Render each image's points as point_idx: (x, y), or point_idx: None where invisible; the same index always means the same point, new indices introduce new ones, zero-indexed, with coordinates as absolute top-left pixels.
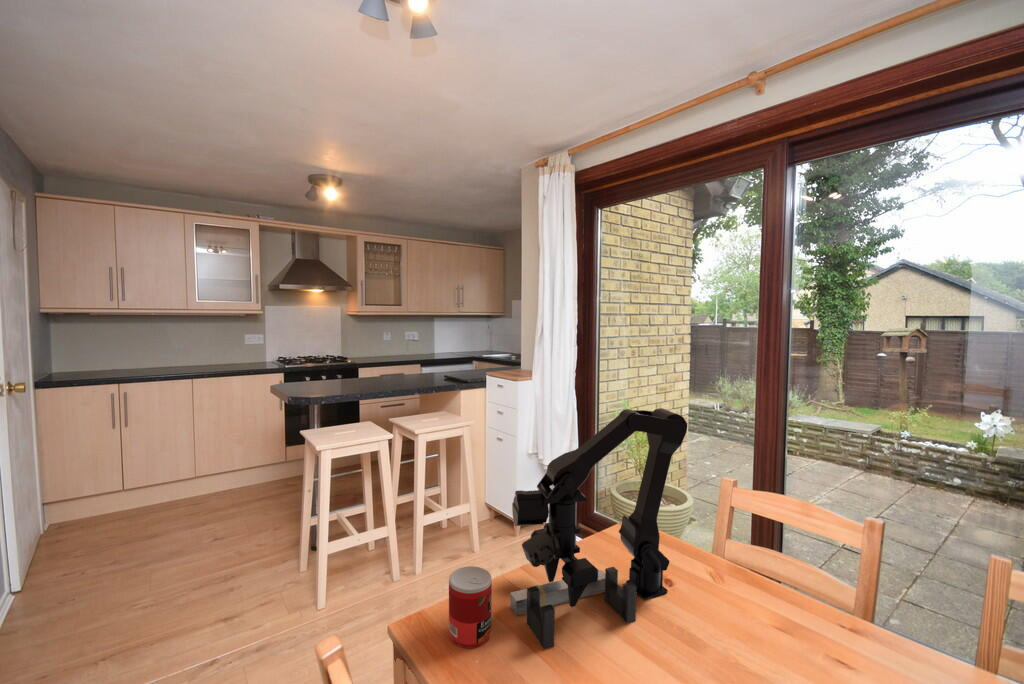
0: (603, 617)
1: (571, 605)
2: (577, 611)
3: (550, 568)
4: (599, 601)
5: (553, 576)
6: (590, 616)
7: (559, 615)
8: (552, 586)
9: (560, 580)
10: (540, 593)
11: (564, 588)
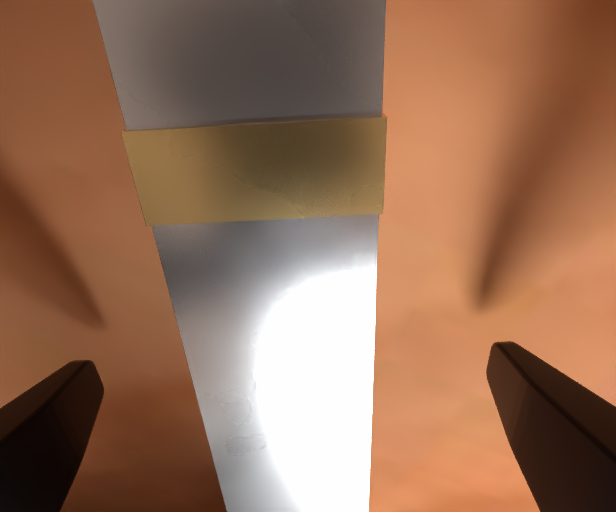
0: None
1: (55, 377)
2: (111, 371)
3: (582, 481)
4: (192, 501)
5: (506, 414)
6: None
7: (73, 235)
8: (288, 354)
9: (366, 455)
10: (160, 140)
11: (215, 439)
